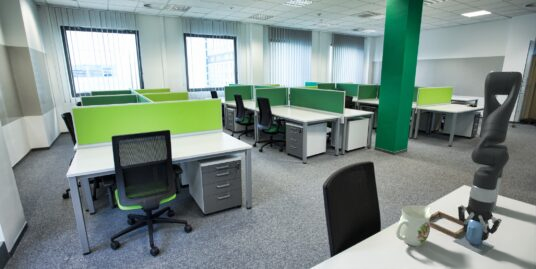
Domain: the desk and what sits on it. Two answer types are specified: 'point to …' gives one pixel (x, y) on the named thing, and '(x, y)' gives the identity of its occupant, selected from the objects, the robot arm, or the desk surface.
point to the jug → (474, 232)
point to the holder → (444, 230)
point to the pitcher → (414, 225)
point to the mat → (473, 245)
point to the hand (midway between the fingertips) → (474, 235)
